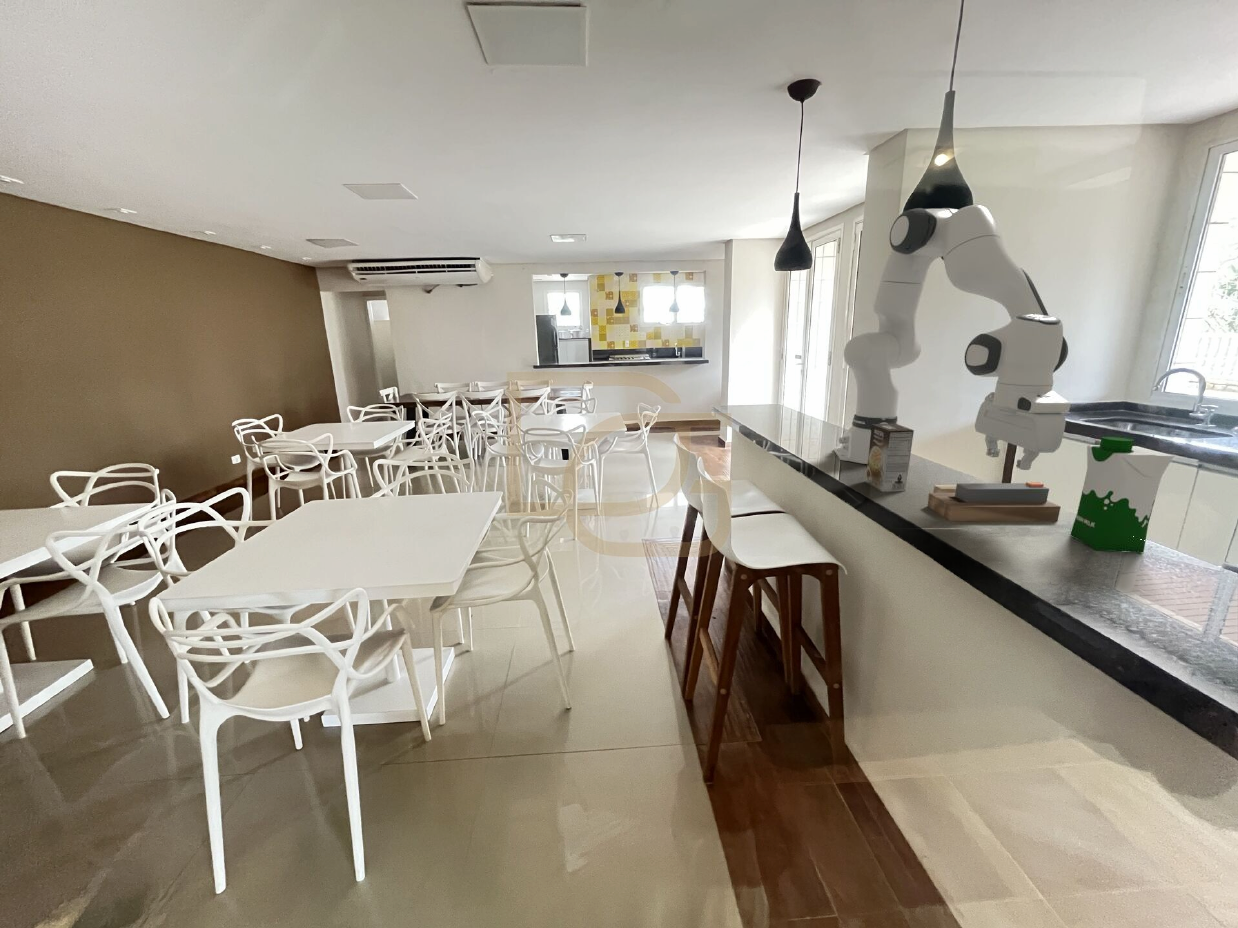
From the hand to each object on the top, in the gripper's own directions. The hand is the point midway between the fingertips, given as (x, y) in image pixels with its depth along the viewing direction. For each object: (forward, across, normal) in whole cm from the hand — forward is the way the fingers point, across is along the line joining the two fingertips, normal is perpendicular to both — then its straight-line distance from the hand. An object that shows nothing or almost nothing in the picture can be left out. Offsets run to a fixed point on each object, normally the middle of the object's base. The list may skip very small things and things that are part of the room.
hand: (1006, 462), depth 101 cm
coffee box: (+12, -19, -15) cm, 27 cm away
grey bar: (+10, +1, 0) cm, 10 cm away
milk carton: (+11, +16, +9) cm, 21 cm away
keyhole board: (+12, +1, -2) cm, 12 cm away
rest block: (+12, -11, -3) cm, 17 cm away
